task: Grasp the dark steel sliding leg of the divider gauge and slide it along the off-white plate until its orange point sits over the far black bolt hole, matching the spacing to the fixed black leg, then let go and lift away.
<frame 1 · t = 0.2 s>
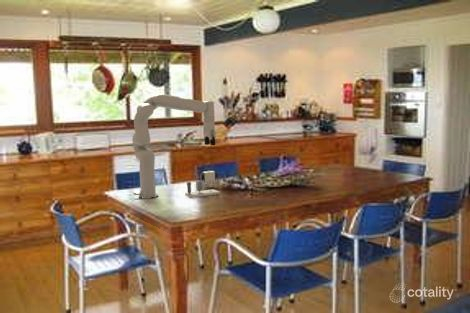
hand: (210, 144, 338), 31 cm above the table, tool pointing down, fingers open, 9 cm apart
slider leg: (199, 186, 323), point 5 cm above the table, slide at 4.0 cm
pitch plate: (202, 194, 324), on the table
pneumatic valve: (208, 187, 350), on the table
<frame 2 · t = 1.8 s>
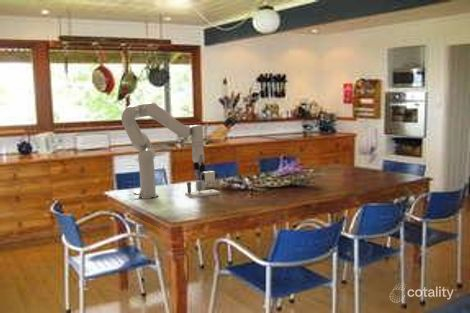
hand: (199, 170, 321), 16 cm above the table, tool pointing down, fingers open, 9 cm apart
nothing on the table moved.
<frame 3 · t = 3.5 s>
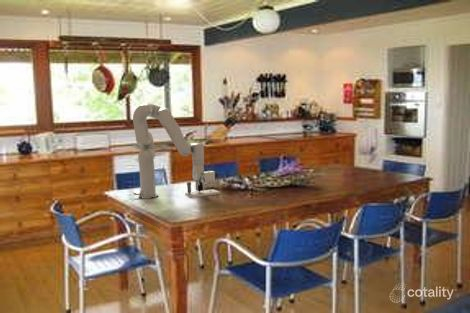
hand: (199, 190, 323), 3 cm above the table, tool pointing down, fingers closed on slider leg, 3 cm apart
slider leg: (199, 186, 323), point 5 cm above the table, slide at 4.0 cm, touching gripper
everything else where it was.
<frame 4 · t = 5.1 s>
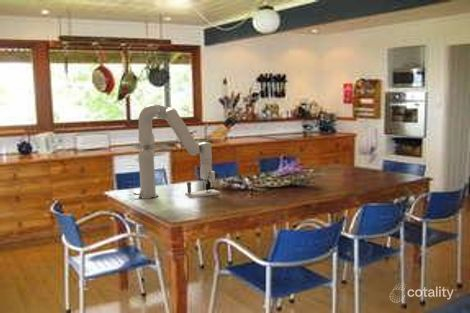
hand: (207, 189, 325), 3 cm above the table, tool pointing down, fingers closed on slider leg, 3 cm apart
slider leg: (207, 185, 325), point 5 cm above the table, slide at 9.4 cm, touching gripper
everything else where it was.
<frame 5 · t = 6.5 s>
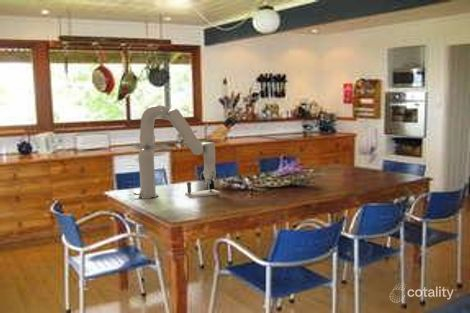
hand: (210, 188, 326), 3 cm above the table, tool pointing down, fingers closed on slider leg, 3 cm apart
slider leg: (210, 185, 326), point 5 cm above the table, slide at 12.0 cm, touching gripper
everything else where it was.
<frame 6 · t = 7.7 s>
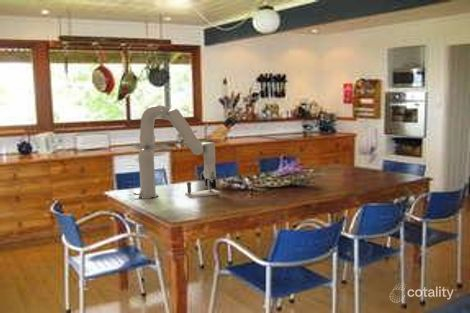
hand: (210, 187, 326), 4 cm above the table, tool pointing down, fingers open, 9 cm apart
slider leg: (210, 185, 326), point 5 cm above the table, slide at 12.0 cm
everything else where it was.
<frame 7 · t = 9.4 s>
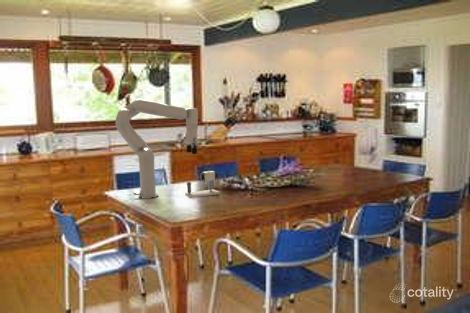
hand: (191, 153, 326), 27 cm above the table, tool pointing down, fingers open, 9 cm apart
nothing on the table moved.
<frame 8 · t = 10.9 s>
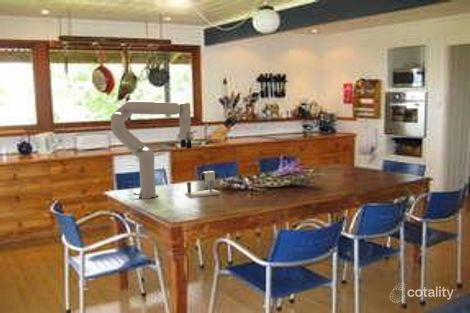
hand: (186, 147, 327), 30 cm above the table, tool pointing down, fingers open, 9 cm apart
nothing on the table moved.
at the end: slider leg slide at 12.0 cm; the gripper is holding nothing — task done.
